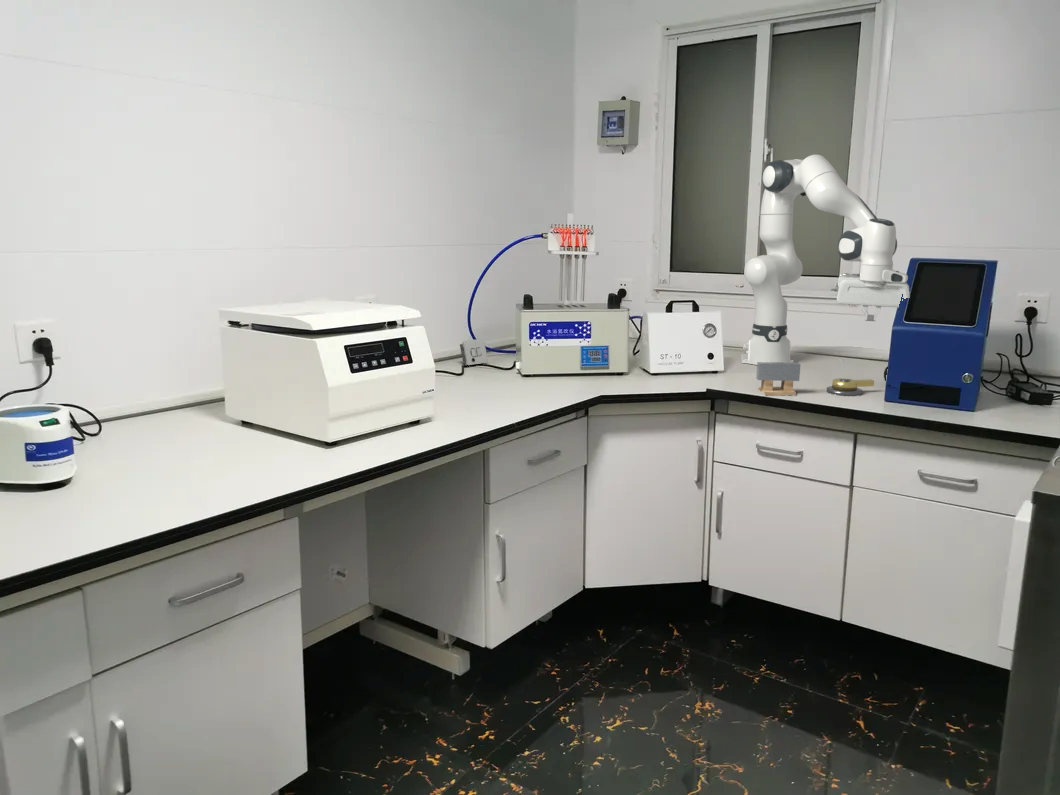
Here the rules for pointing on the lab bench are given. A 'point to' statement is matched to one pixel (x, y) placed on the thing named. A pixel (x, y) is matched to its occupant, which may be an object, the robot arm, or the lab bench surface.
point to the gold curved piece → (850, 384)
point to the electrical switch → (473, 352)
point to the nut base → (844, 392)
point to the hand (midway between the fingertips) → (870, 320)
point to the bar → (778, 371)
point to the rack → (777, 388)
